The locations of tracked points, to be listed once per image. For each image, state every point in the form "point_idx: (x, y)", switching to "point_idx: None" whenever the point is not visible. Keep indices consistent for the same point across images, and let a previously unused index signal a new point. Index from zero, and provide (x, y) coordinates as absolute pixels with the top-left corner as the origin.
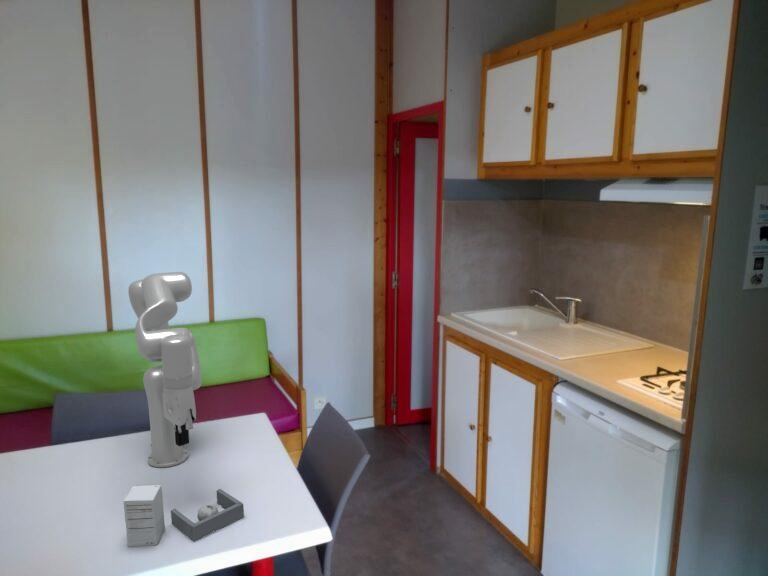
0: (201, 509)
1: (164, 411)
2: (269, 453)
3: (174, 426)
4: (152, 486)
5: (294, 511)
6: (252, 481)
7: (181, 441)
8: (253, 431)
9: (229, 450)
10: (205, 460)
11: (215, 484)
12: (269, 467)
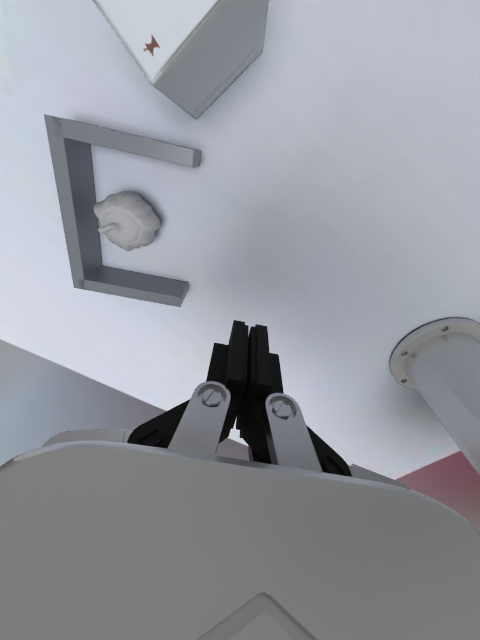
0: (121, 207)
1: None
2: None
3: (287, 424)
4: (167, 25)
5: (44, 333)
6: (199, 367)
7: (223, 347)
8: None
9: (327, 417)
10: (347, 380)
11: None
12: None
